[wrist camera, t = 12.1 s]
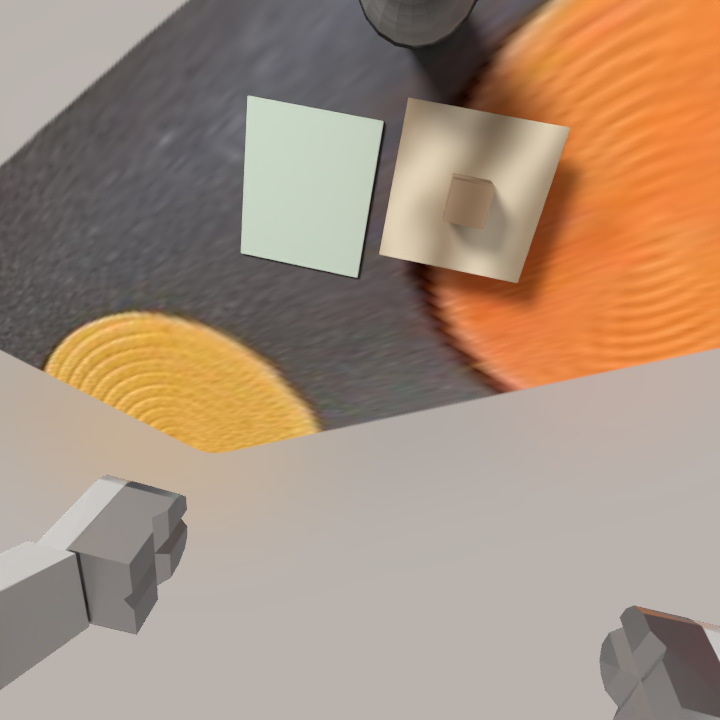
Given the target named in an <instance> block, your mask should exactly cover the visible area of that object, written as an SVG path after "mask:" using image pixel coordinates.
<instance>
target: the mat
mask: <svg viewBox="0 0 720 720" xmlns="http://www.w3.org/2000/svg"><path fill="white" fill-rule="evenodd" d="M383 124H384V121H380V120H375V119H369V118H364V117H359V116H354V115H348V114H343V113H338V112H332V111H327V110H322V109H317V108H311V107H306V106H301V105H296V104H290V103H285V102H280V101H275V100H269V99H264V98H259V97H254V96H248V99H247V122H246V145H245V168H244V191H243V215H242V238H241V253H243V254H247V255H252V256H257V257H262V258H266V259H271V260H276V261H280V262H285V263H290V264H295V265H299V266H304V267H309V268H313V269H318V270H323V271H327V272H332V273H337V274H342V275H346V276H351V277H356V278H357V277H358V273H359V267H360V261H361V255H362V249H363V243H364V237H365V231H366V225H367V219H368V213H369V207H370V201H371V195H372V190H373V184H374V178H375V172H376V166H377V160H378V154H379V148H380V142H381V136H382V130H383Z"/></svg>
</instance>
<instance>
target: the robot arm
mask: <svg viewBox="0 0 720 720" xmlns="http://www.w3.org/2000/svg"><path fill="white" fill-rule="evenodd" d="M186 510H187V505H186V497H185V496H183V495H180V494H177V493H173V492H169V491H166V490H162V489H158V488H155V487H151V486H148V485H144V484H141V483H137V482H133V481H129V480H125V479H121V478H117V477H114V476H110V475H106V476H104V477H102V478H100V479H98V480H97V481H96V482H95V483H94V484H93V485H92V486H91V487H90V488H89V489H88V490H87V491H86V492H85V493H84V494H83V495H82V496H81V497H80V498H79V499H78V500H77V501H76V503H75V504H74V505H73V506H72V507H71V508H70V509H69V510H68V511H67V512H66V513H65V514H64V515H63V516H62V517H61V518H60V519H59V520H58V521H57V522H56V523H55V524H54V525H53V527H52V528H51V529H50V530H49V531H48V532H47V533H46V534H45V535H44V536H43V537H42V538H41V539H40V540H39V541H38V542H37V543H36V542H32V541H27V542H25V543H23V544H21V545H18V546H16V547H14V548H12V549H9V550H7V551H5V552H2V553H1V554H0V690H1V689H2V688H4V687H5V686H6V685H8V684H9V683H11V682H12V681H14V680H15V679H16V678H18V677H19V676H21V675H22V674H23V673H25V672H26V671H27V670H29V669H30V668H32V667H33V666H35V665H36V664H37V663H39V662H40V661H42V660H43V659H44V658H46V657H47V656H49V655H50V654H51V653H53V652H54V651H56V650H57V649H58V648H60V647H61V646H63V645H64V644H65V643H67V642H68V641H70V640H71V639H72V638H74V637H75V636H77V635H78V634H79V633H80V632H82V631H84V630H85V629H86V628H88V627H89V623H90V624H94V625H98V626H103V627H107V628H111V629H115V630H120V631H124V632H128V633H133V634H137V633H138V632H139V630H140V628H141V627H142V625H143V623H144V622H145V620H146V618H147V616H148V615H149V613H150V612H151V610H152V608H153V606H154V605H155V603H156V602H157V600H158V595H157V585H159V584H161V583H162V582H164V581H166V580H168V579H169V578H170V577H171V576H172V575H173V573H174V571H175V569H176V568H177V566H178V564H179V562H180V559H181V557H182V554H183V551H184V549H185V544H186V539H187V526H186V524H185V523H184V522H183V520H182V519H181V518H182V516H183V515H184V513H185V511H186ZM620 619H621V622H622V625H623V627H622V628H620V629H617V630H615V631H612V632H610V633H609V634H608V636H607V637H606V639H605V641H604V642H603V644H602V648H601V655H600V668H601V676H602V680H603V683H604V687H605V691H606V692H607V693H608V694H609V695H610V697H611V698H612V699H613V701H614V702H615V703H616V704H617V706H618V709H617V711H616V714H615V716H614V719H613V720H720V626H716V625H711V624H707V623H704V622H699V621H695V620H691V619H689V618H685V617H681V616H676V615H672V614H667V613H663V612H659V611H655V610H650V609H646V608H642V607H638V606H632V607H629V608H627V609H626V610H625V611H624V612H623V614H622V615H621V617H620Z"/></svg>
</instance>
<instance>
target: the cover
mask: <svg viewBox="0 0 720 720" xmlns="http://www.w3.org/2000/svg"><path fill="white" fill-rule="evenodd" d="M569 131H570V128H569V127H564V126H559V125H553V124H548V123H542V122H537V121H532V120H526V119H521V118H516V117H510V116H505V115H500V114H494V113H489V112H483V111H478V110H473V109H467V108H462V107H457V106H451V105H446V104H440V103H435V102H430V101H424V100H419V99H414V98H408V103H407V108H406V114H405V119H404V124H403V130H402V135H401V140H400V146H399V151H398V156H397V162H396V167H395V172H394V178H393V183H392V189H391V194H390V199H389V205H388V210H387V215H386V221H385V226H384V231H383V237H382V242H381V247H380V253H379V254H380V255H385V256H390V257H394V258H399V259H404V260H409V261H414V262H418V263H423V264H428V265H433V266H438V267H442V268H447V269H452V270H457V271H462V272H466V273H471V274H476V275H481V276H485V277H490V278H495V279H500V280H505V281H509V282H514V283H518V280H519V277H520V274H521V272H522V269H523V266H524V263H525V260H526V257H527V254H528V251H529V248H530V245H531V242H532V239H533V236H534V233H535V230H536V228H537V225H538V222H539V219H540V216H541V213H542V210H543V207H544V204H545V201H546V198H547V195H548V192H549V189H550V186H551V183H552V181H553V178H554V175H555V172H556V169H557V166H558V163H559V160H560V157H561V154H562V151H563V148H564V145H565V142H566V139H567V136H568V134H569Z"/></svg>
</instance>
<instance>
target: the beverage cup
mask: <svg viewBox="0 0 720 720" xmlns="http://www.w3.org/2000/svg"><path fill="white" fill-rule="evenodd" d="M477 1H478V0H359V2H360V5H361V7H362V10H363V13H364V15H365V18H366V19H367V21H368V22H369V23H370V25H371V26H372V27H373V28H374V30H375V31H376V32H377V34H378V35H379V36H381V37H382V38H384V39H385V40H387V41H388V42H390V43H392V44H393V45H395V46H399V47H403V48H408V49H413V50H415V49H421V48H427V47H432V46H435V45H436V44H438V43H440V42H442V41H444V40H445V39H447V38H449V37H451V36H452V35H453V34H454V33H455V32H456V31H457V30H458V29H459V28H460V27H461V26H462V25H463V23H464V22H465V21H466V20H467V19H468V17H469V15H470V14H471V12H472V10H473V8H474V6H475V4H476V2H477Z"/></svg>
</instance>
